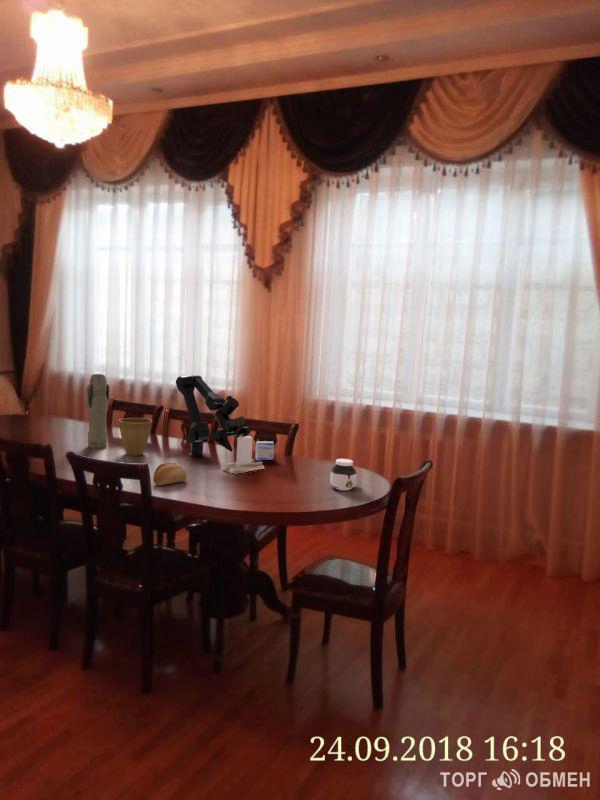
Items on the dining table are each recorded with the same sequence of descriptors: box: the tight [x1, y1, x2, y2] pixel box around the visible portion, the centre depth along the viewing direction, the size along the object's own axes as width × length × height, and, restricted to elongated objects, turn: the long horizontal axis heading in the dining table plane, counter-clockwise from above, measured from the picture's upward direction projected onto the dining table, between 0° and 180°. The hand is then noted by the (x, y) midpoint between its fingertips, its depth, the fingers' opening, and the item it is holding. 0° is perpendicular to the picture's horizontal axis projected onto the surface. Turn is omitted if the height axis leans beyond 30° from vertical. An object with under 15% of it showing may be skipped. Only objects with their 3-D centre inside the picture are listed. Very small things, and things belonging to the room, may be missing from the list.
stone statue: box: [85, 373, 111, 450], centre depth 299 cm, size 9×12×35 cm
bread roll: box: [152, 462, 188, 486], centre depth 245 cm, size 10×15×8 cm, turn 143°
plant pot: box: [118, 417, 153, 457], centre depth 290 cm, size 15×15×16 cm
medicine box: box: [254, 440, 275, 462], centre depth 293 cm, size 8×4×9 cm, turn 105°
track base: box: [222, 459, 265, 475], centre depth 272 cm, size 9×16×3 cm, turn 136°
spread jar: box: [329, 458, 357, 488], centre depth 253 cm, size 12×11×12 cm
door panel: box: [235, 435, 253, 466], centre depth 272 cm, size 3×6×13 cm, turn 137°
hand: (239, 450), depth 274 cm, fingers open, 9 cm apart
